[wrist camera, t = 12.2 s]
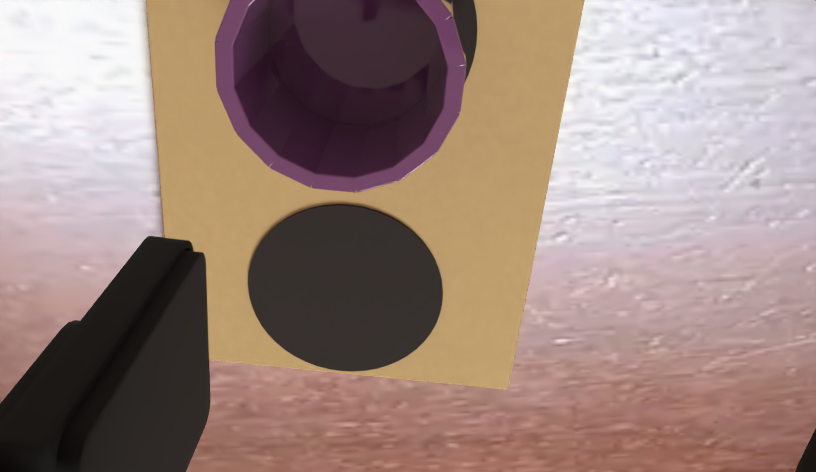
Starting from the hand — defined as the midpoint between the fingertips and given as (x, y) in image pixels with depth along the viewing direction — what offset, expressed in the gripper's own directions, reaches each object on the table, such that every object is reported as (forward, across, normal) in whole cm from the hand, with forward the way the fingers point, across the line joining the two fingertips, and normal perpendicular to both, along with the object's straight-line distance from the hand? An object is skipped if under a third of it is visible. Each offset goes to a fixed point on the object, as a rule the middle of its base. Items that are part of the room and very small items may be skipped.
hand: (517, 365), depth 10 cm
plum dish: (+15, +4, -1) cm, 16 cm away
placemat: (+16, +4, +4) cm, 17 cm away
